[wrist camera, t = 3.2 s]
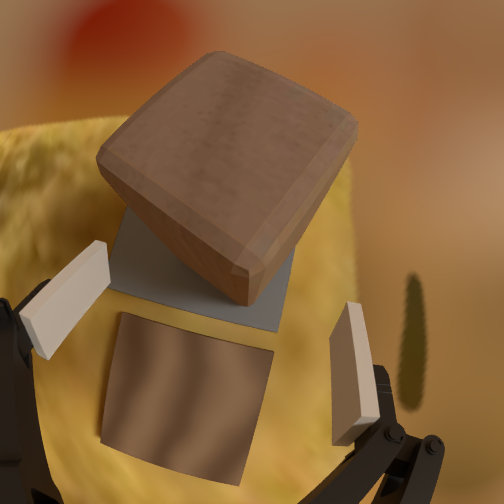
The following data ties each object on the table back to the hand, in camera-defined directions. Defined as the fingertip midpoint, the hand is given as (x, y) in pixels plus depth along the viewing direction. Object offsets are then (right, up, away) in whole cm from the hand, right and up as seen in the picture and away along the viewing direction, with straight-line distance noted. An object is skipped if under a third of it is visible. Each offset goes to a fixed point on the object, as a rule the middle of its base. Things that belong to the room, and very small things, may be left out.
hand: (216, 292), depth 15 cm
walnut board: (-6, -14, +12) cm, 19 cm away
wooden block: (0, +3, +17) cm, 17 cm away
